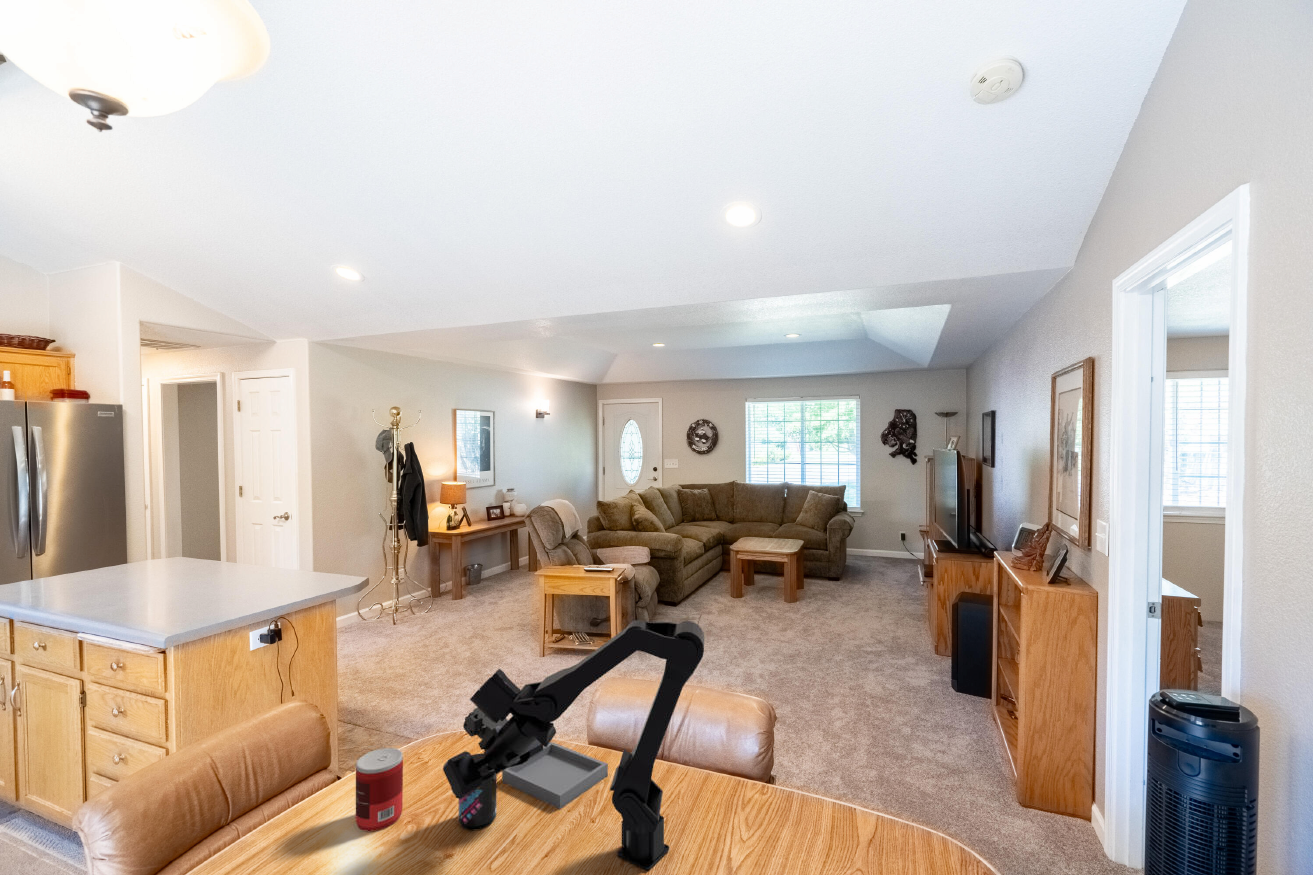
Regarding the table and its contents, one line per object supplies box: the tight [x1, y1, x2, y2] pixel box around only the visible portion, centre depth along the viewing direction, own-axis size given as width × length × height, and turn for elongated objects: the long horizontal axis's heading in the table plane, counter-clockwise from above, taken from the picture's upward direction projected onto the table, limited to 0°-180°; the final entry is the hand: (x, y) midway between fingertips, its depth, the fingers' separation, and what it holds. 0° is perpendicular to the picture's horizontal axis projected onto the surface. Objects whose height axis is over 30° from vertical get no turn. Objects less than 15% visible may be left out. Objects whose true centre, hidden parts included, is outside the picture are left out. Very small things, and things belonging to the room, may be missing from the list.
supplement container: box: [458, 752, 498, 831], centre depth 111 cm, size 7×7×10 cm
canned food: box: [355, 747, 404, 832], centre depth 112 cm, size 8×8×11 cm
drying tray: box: [501, 741, 609, 810], centre depth 125 cm, size 16×14×2 cm
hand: (474, 779), depth 112 cm, fingers open, 9 cm apart
